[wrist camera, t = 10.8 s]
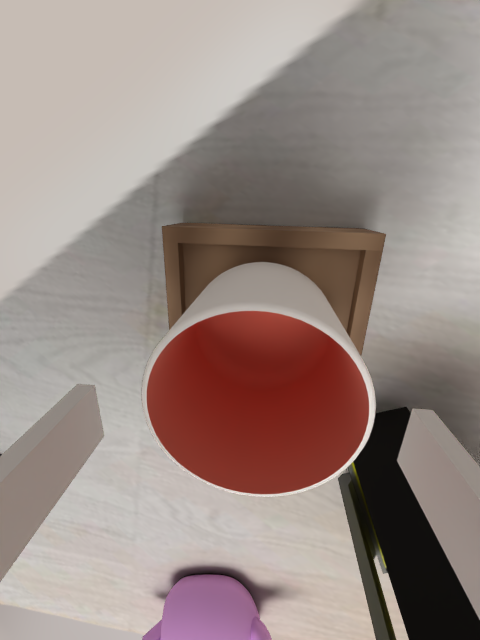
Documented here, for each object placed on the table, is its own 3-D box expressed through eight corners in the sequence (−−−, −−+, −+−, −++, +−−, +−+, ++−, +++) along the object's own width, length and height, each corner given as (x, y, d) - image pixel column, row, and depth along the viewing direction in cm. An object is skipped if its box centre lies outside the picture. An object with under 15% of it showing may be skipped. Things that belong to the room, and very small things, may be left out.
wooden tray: (189, 374, 28) (174, 403, 24) (182, 222, 23) (161, 226, 19) (336, 386, 27) (348, 419, 23) (364, 228, 22) (386, 234, 17)
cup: (302, 397, 23) (321, 521, 14) (184, 362, 23) (126, 463, 14) (353, 282, 20) (425, 349, 10) (213, 240, 20) (159, 269, 10)
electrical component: (318, 425, 29) (400, 823, 10) (428, 401, 26) (790, 859, 8) (358, 539, 34) (459, 934, 16) (452, 528, 32) (702, 974, 13)
